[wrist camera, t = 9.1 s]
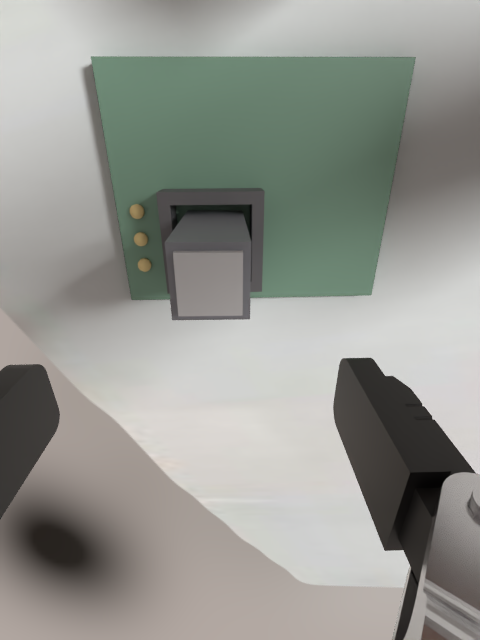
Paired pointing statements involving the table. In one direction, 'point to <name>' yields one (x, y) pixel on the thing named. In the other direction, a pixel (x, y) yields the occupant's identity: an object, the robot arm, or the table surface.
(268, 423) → the table surface
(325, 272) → the board
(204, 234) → the plug
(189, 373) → the table surface
